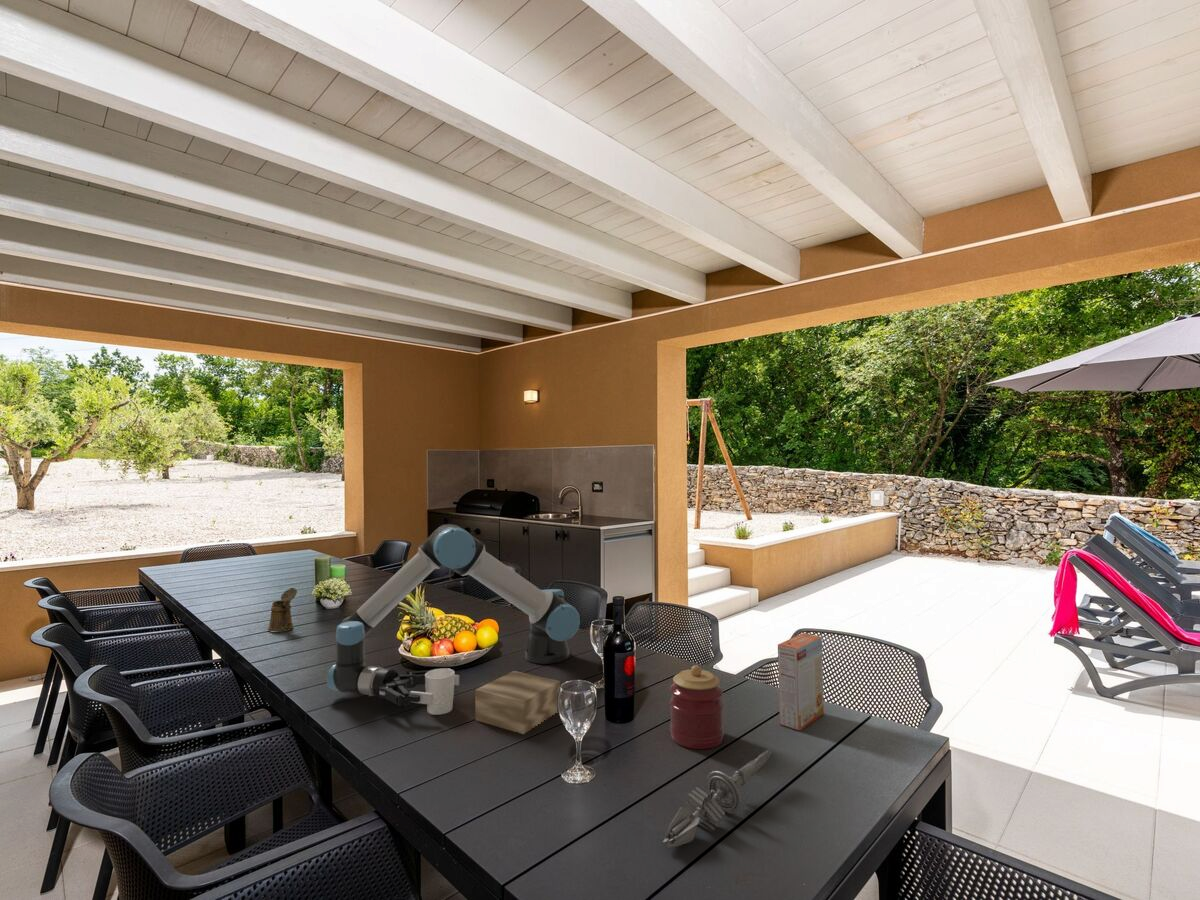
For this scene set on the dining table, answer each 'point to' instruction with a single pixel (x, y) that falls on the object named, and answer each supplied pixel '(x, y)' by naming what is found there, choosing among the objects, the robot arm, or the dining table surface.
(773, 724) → the dining table surface
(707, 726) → the canister
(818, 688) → the cracker box
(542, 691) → the riser block
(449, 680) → the white cup
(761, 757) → the spaceship
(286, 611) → the wooden mug
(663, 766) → the dining table surface
